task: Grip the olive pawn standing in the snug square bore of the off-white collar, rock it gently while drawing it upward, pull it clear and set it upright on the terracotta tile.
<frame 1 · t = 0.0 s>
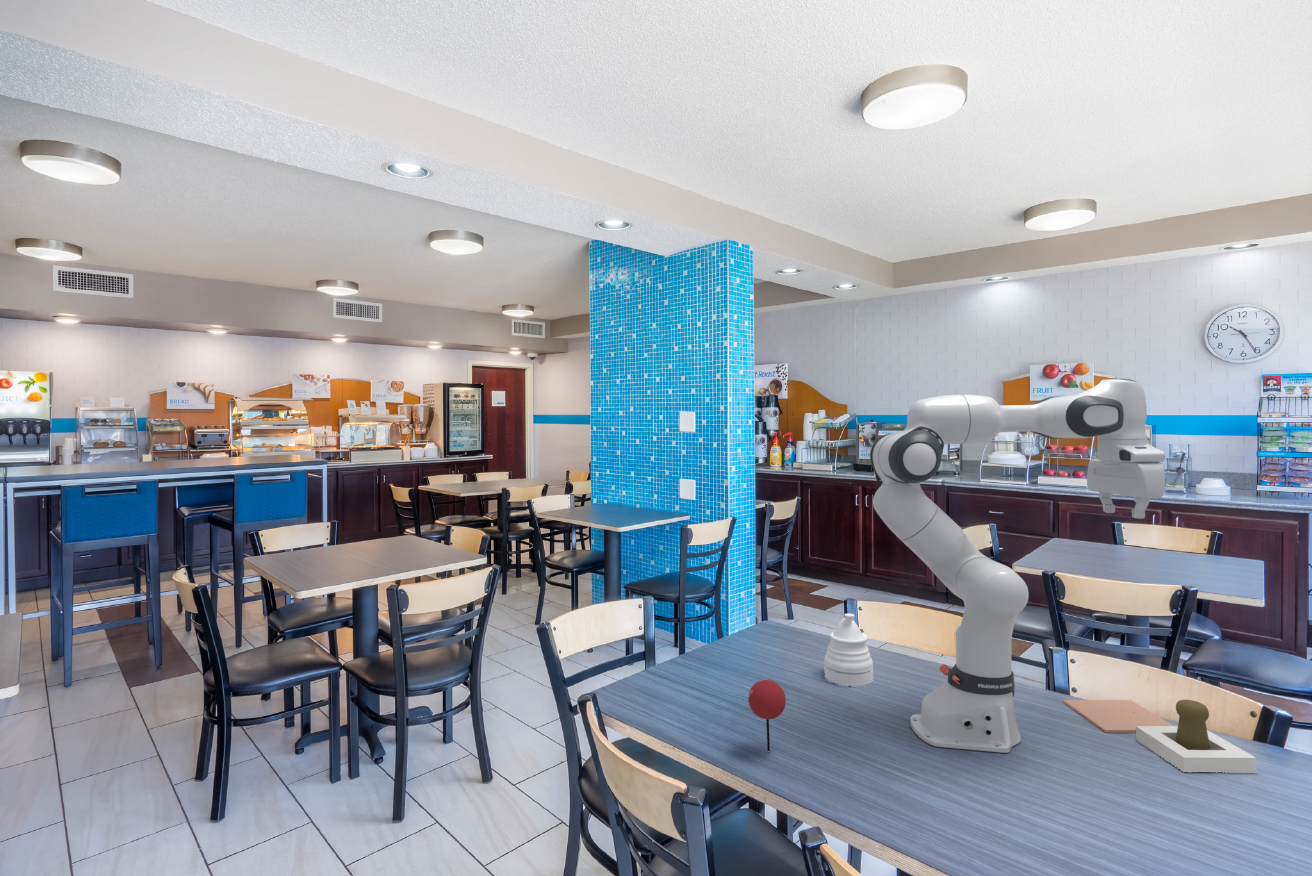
hand: (1123, 515, 140), 48 cm above the table, tool pointing down, fingers open, 8 cm apart
lollipop: (768, 752, 136), on the table
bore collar: (1193, 755, 130), on the table
olive pawn: (1193, 756, 130), resting in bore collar
terracotta tile: (1118, 716, 149), on the table
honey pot: (848, 679, 175), on the table
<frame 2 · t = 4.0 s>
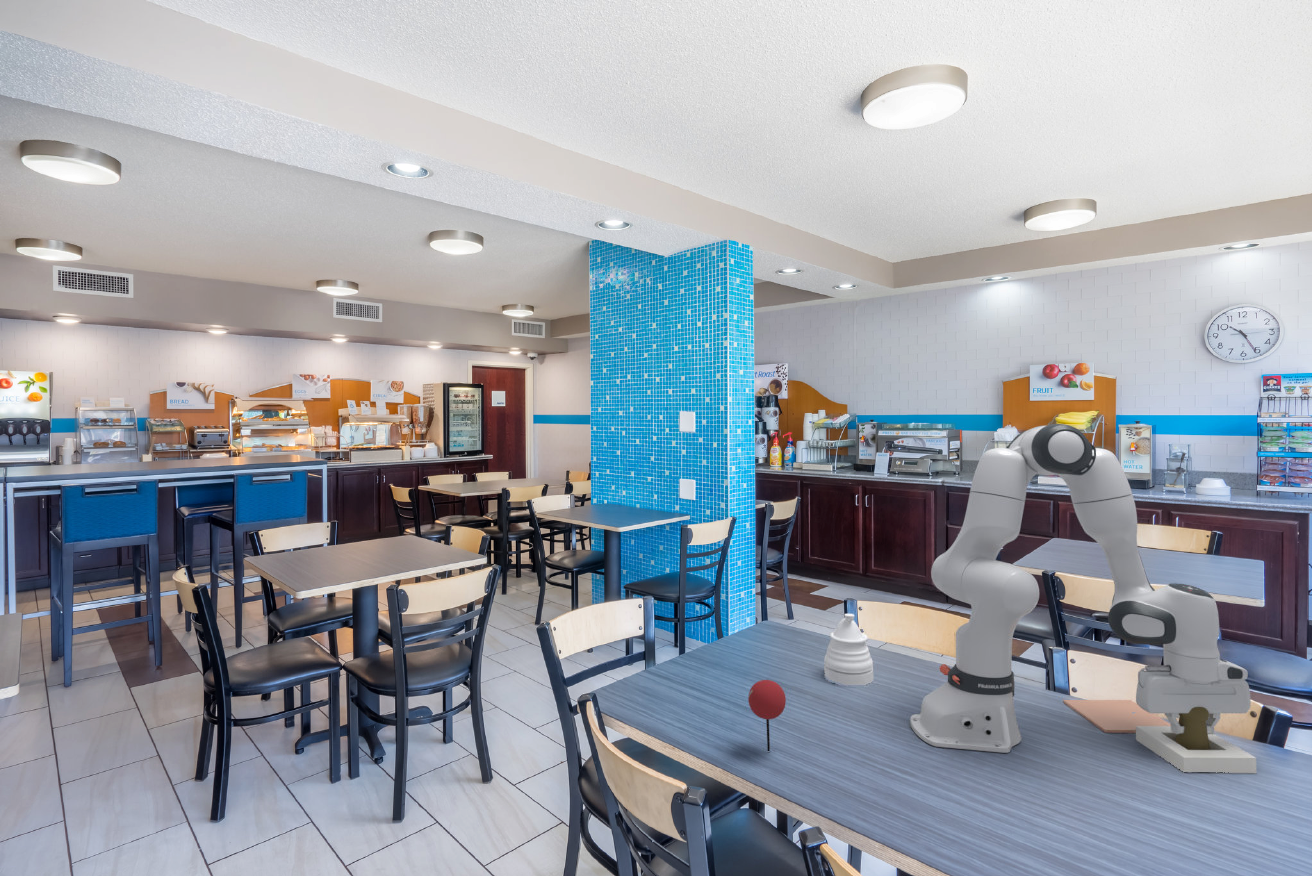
hand: (1192, 733, 130), 5 cm above the table, tool pointing down, fingers closed on olive pawn, 4 cm apart
olive pawn: (1193, 756, 130), resting in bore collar, touching gripper
everything else where it was.
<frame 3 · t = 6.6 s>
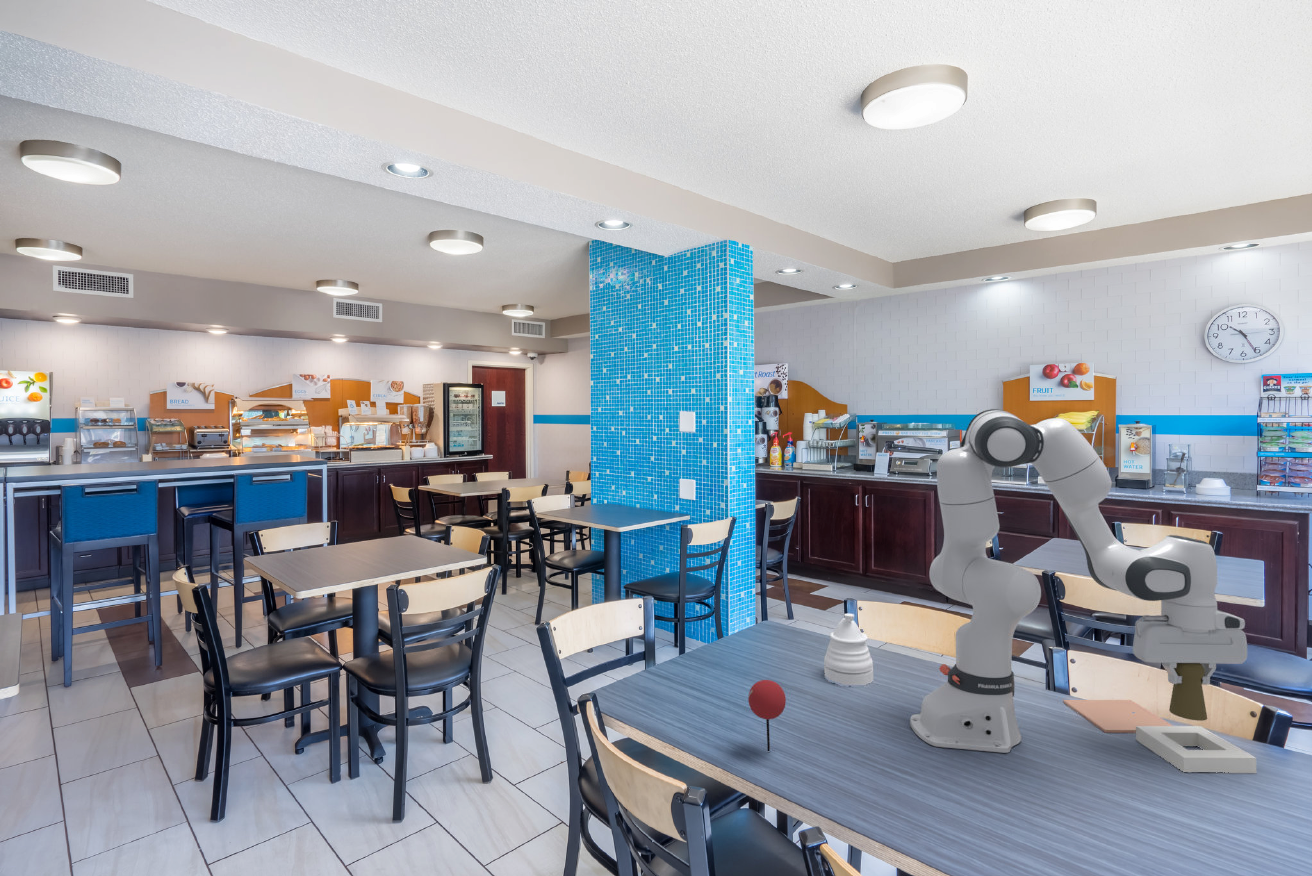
hand: (1188, 683, 130), 15 cm above the table, tool pointing down, fingers closed on olive pawn, 4 cm apart
olive pawn: (1188, 715, 131), point 8 cm above the table, touching gripper
everything else where it was.
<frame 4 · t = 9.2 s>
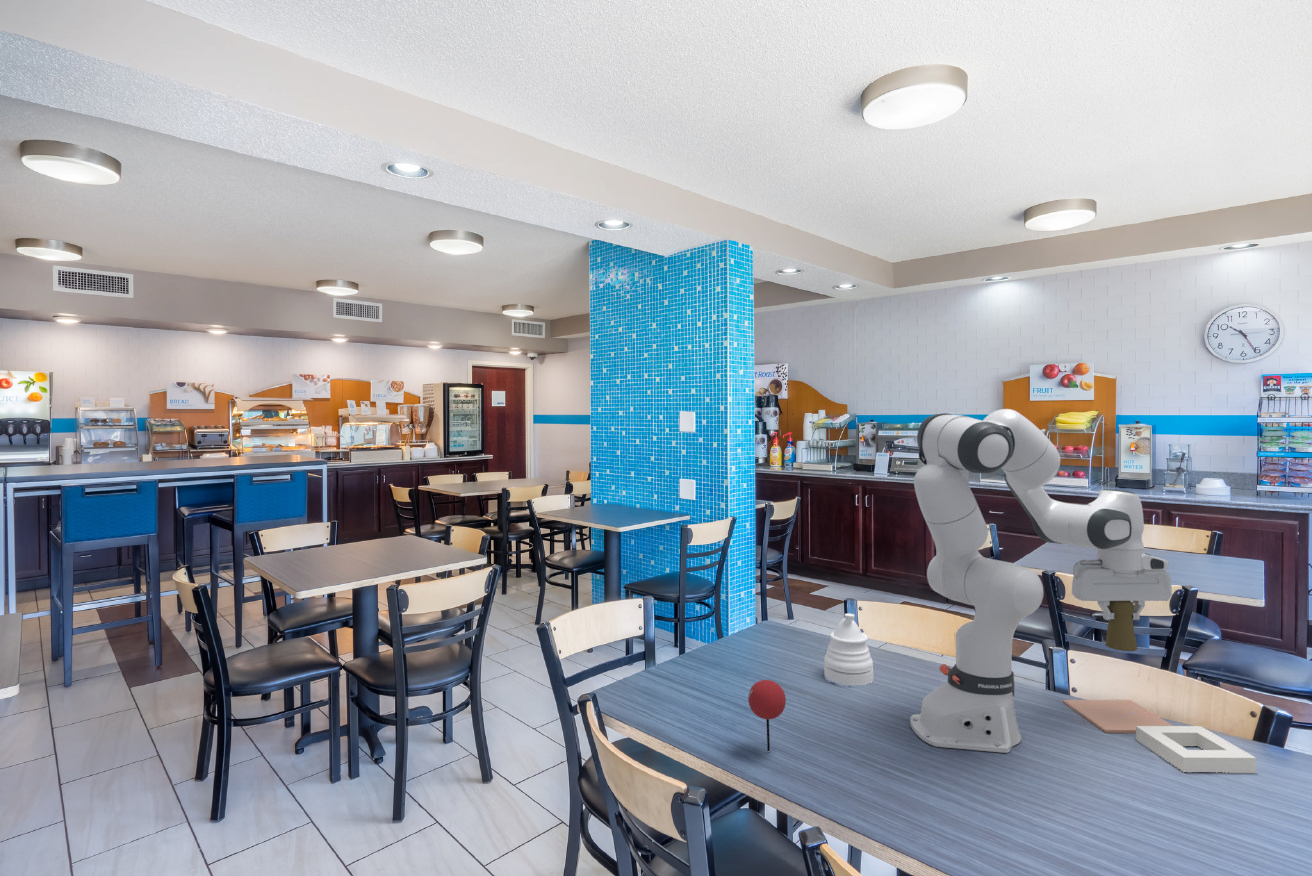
hand: (1121, 619, 147), 23 cm above the table, tool pointing down, fingers closed on olive pawn, 4 cm apart
olive pawn: (1121, 647, 147), point 16 cm above the table, touching gripper
everything else where it was.
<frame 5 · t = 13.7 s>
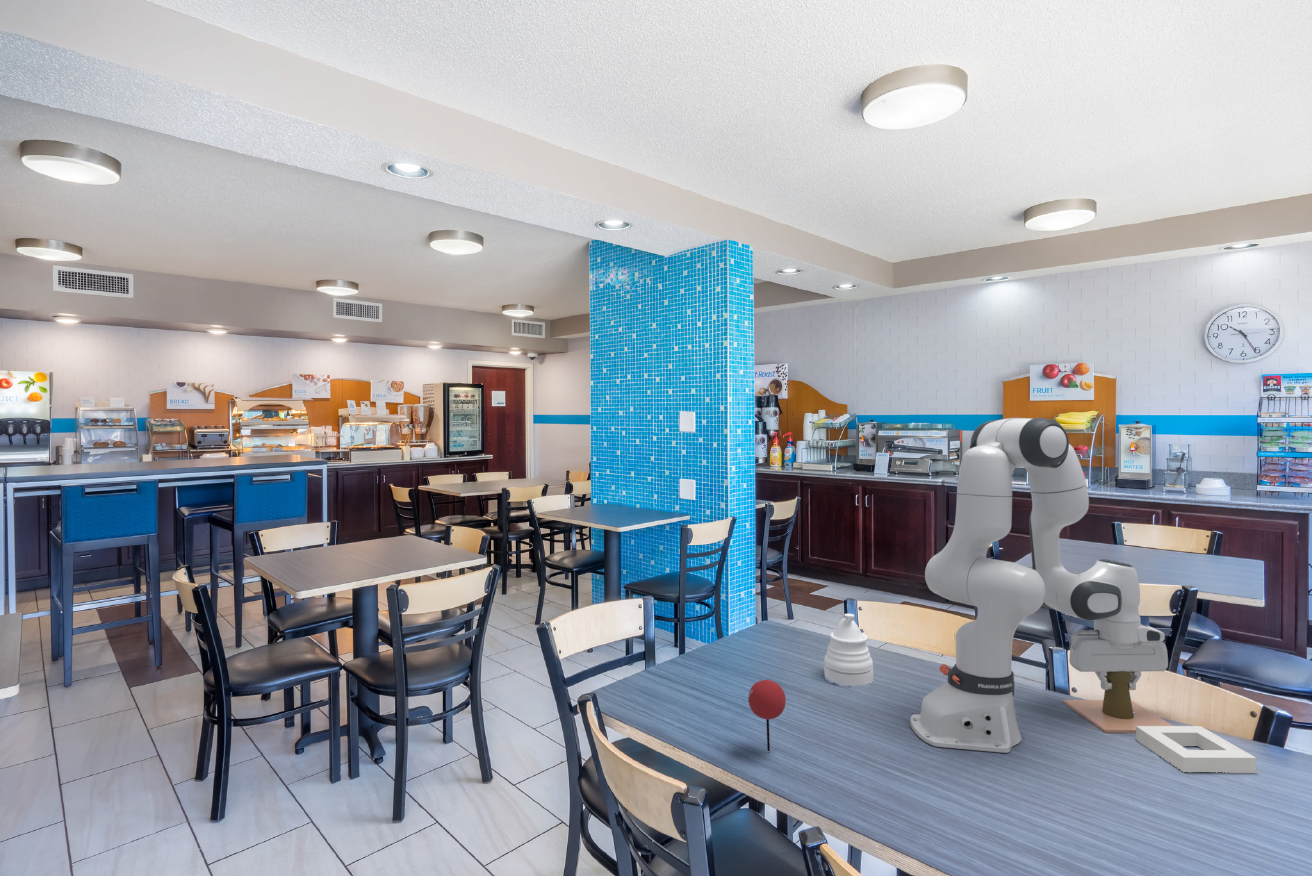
hand: (1118, 689, 149), 6 cm above the table, tool pointing down, fingers closed on olive pawn, 4 cm apart
olive pawn: (1117, 714, 149), resting on terracotta tile, touching gripper
everything else where it was.
when the fingers open (6 cm above the table, at t = 13.9 s): olive pawn stays where it is, resting on terracotta tile.
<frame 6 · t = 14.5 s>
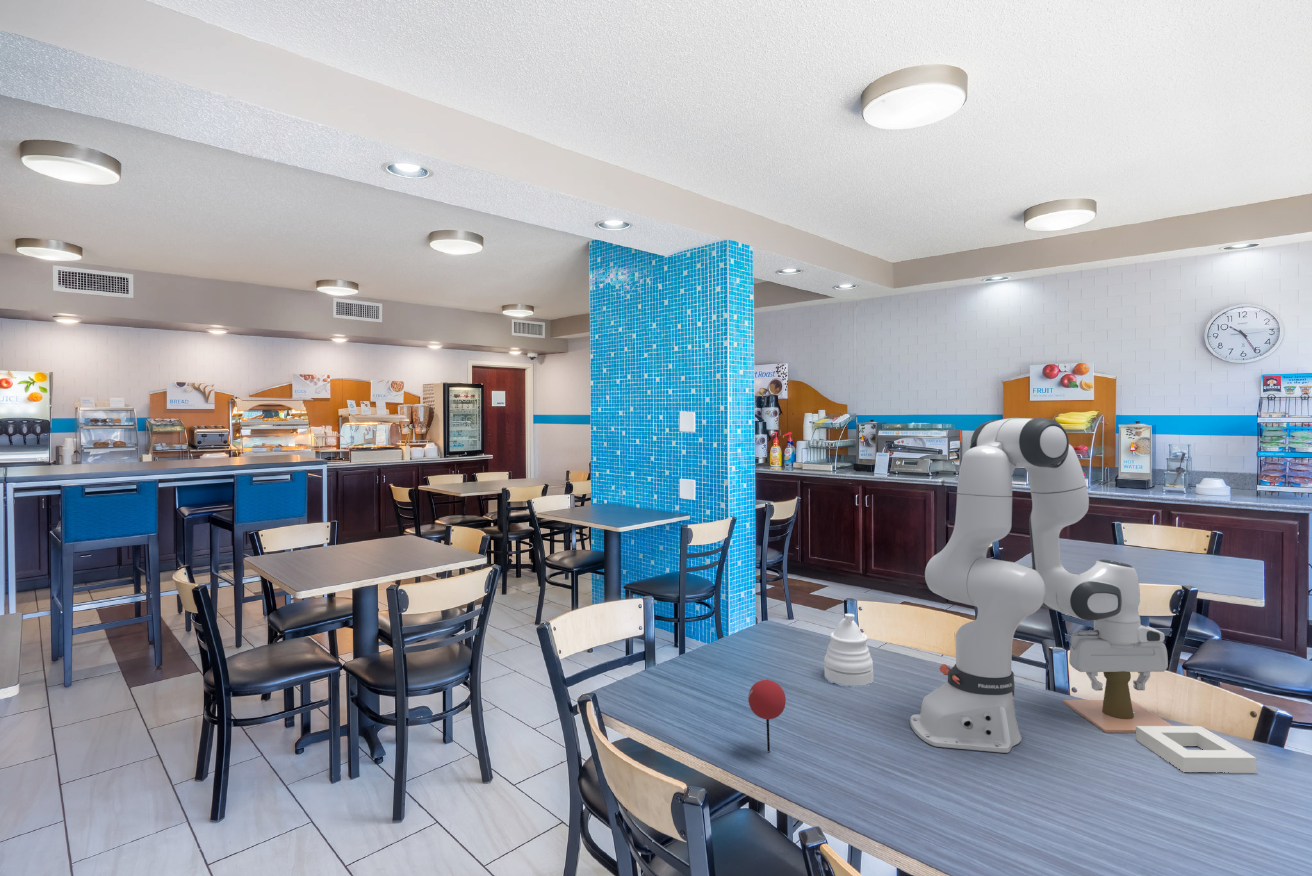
hand: (1118, 689, 148), 6 cm above the table, tool pointing down, fingers open, 8 cm apart
olive pawn: (1117, 714, 149), resting on terracotta tile
everything else where it was.
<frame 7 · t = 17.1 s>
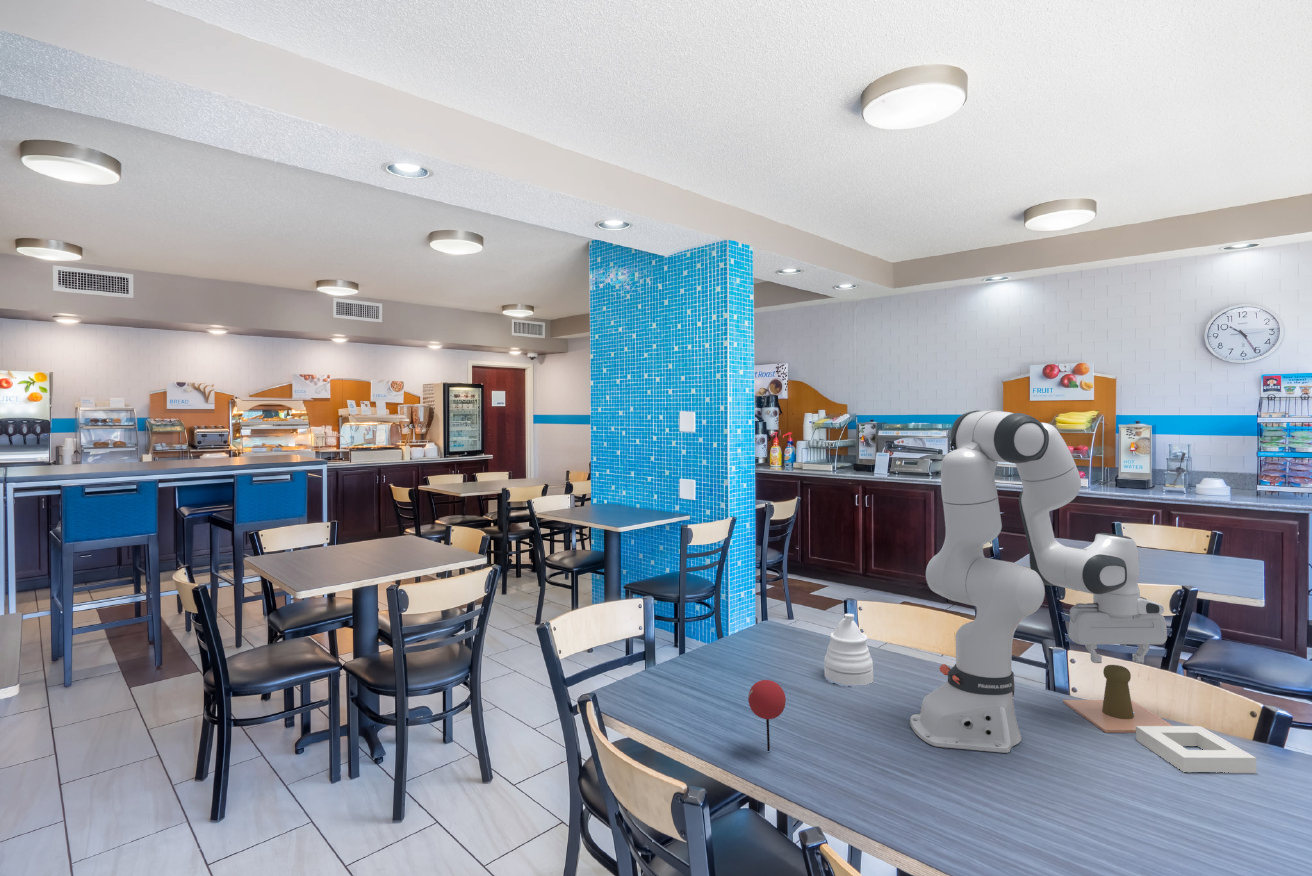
hand: (1117, 662, 148), 13 cm above the table, tool pointing down, fingers open, 8 cm apart
nothing on the table moved.
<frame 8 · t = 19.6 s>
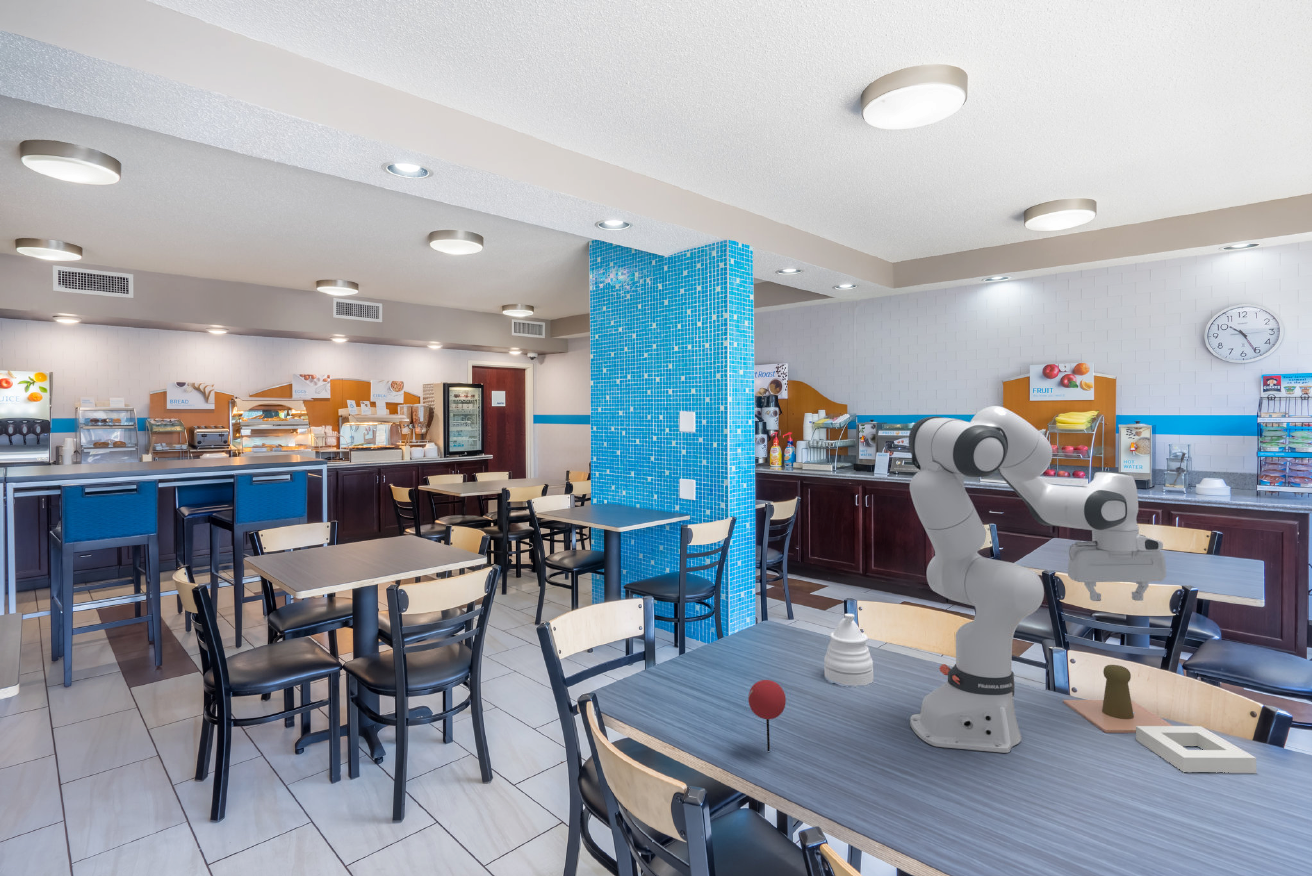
hand: (1116, 600, 148), 27 cm above the table, tool pointing down, fingers open, 8 cm apart
nothing on the table moved.
at the end: olive pawn inside the target area on the terracotta tile (0.4 cm from its centre), point 0.4 cm above the terracotta tile's base; olive pawn tilted 0°; olive pawn touching terracotta tile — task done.
